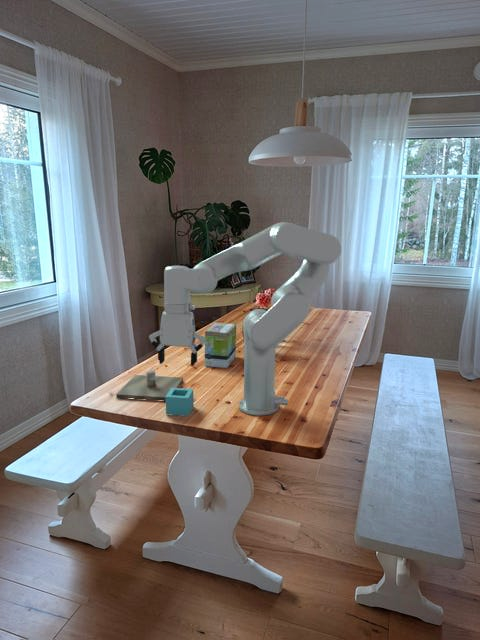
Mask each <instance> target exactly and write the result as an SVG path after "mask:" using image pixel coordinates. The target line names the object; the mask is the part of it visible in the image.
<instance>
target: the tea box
mask: <svg viewBox="0 0 480 640" xmlns="http://www.w3.org/2000/svg"><path fill="white" fill-rule="evenodd" d="M204 337H205V338H206V341H205V343H204V366H205V367H213V368H221V369H224V368H225V369H227V368H228V367H229V366H230V365H231V363H232V362H233V361H234V359H235V358H236V353H237V324H235V323H224V322H223V323H221V322H214V323H212V325H210V326H209V327H208V328H207V329H206V330H204Z"/></svg>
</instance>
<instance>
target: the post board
mask: <svg viewBox="0 0 480 640" xmlns="http://www.w3.org/2000/svg"><path fill="white" fill-rule="evenodd" d="M145 372H146V374H145V375H141V374H135V375H133V376H132V377H131V378H130V380H128V381H127V382H126V384H125V385H124V386H122V387H121V389H120V390H119V391H118V392H117V393H116V394H115V396H116V399H117V398H134V399H146V400H145V401H149V400H164V401H163V402H165V401H166V395H167V394H168V392H169V391H170V390H171V388H180V387H181V386H182V384H183V382H184V377H180V376H179V377H178V376H177V377H176V376H163V375H160V376H159V375H156V371H155V370H147V371H145ZM181 383H182V384H181ZM179 386H180V387H179Z"/></svg>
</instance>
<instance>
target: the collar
mask: <svg viewBox="0 0 480 640" xmlns="http://www.w3.org/2000/svg"><path fill="white" fill-rule="evenodd" d="M194 405H195V404H194V388H181V387H179V388H171V390H170V391H169V392H168V394H167V395H166V402H165V415H166V414H172V415H171V416H174V415H184V416H183V417H189V416H190V415H191V413H190V412H192V411H193V409H194ZM189 414H190V415H189Z"/></svg>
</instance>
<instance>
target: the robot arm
mask: <svg viewBox="0 0 480 640" xmlns="http://www.w3.org/2000/svg"><path fill="white" fill-rule="evenodd" d="M282 254H285V255H287V256H290V257H294V258H297V259H301V260H303V261H302V264H301V265H300V267H299V268H298V270H297V271H296V272H295V273H294V274H293V275H291V277H290V278H289V279H288V280H286V281H285V282H284V283H283V284H282V285H281V286H280V287H279V288H278V289H277V290H276V291H274V292H273V294H272V295H271V300H270V302H271V303H270V304H271V307H270V308H269V309H268V310H266V309H262V308H257V309H253V310H252V311H249V312H250V313H249V312H248V313H249V314H248V313H247V315H246V317H245V319H244V322H243V340H244V346H243V347H244V356H243V357H244V358H243V359H244V361H243V362H244V365H243V367H244V369H243V374H244V375H243V398H242V399H240V400H239V402H238V408H239V410H240V411H241V412H243V413H245V414H247V415H251V416H267V415H272V414H275V412H277V411H278V410H279V405H281V406H288V405H289V399H288V398H285V396H282V395H281V396H278V395H276V390H275V371H276V369H275V368H276V347H277V346H278V345H280V344H281V343H282V342H283V341H284V340H285V339H286V338H287V337H289V335H291V334H292V333H293V332H294V331H295V330H296V329H298V327H299V326H300V325H301V324H302V323H303V322H304V321H305V319H306V318H307V317H308V315H309V312H310V309H311V308H310V307H311V306H310V299H311V298H312V297H313V296H314V295H315V294H316V293H317V291H319V290H320V289H321V287H323V285H324V284H325V282H326V280H327V278H328V276H329V273H330V265H331V264H334V263H335V262H336V261H338V259H339V258H340V257H341V254H342V245H341V241H340V240H339V239H338V238H337V237H336V236H335V235H333V234H329V233H326V232H323V231H322V232H321V231H318V230H315V229H311V228H308V227H304V226H301V225H299V224H295V223H292V222H286V221H281V222H277V223H274V224H272V225H270V226H269V227H267V228H265V229H263V230H262V231H260V232H258V233H256V234H254V235H252V236H250V237H248V238H246V239H244V240H242V241H241V242H238V243H236V244H235V245H232V246H231V247H229V248H227V249H225V250H222V251H221V252H219V253H217V254H214V255H212V256H211V257H209V258H207V259H205V260H203V261H201V262H199V263H198V264H196V265H194V267H193V268H189V267H188V266H185V265H170V266H169V265H168V266H166V267H165V269H164V270H163V271H164V273H163V275H164V276H163V277H164V278H163V282H164V286H163V288H164V289H163V291H164V295H163V296H164V304H163V305H164V310H163V311H162V314H161V319H160V324H159V325H160V326H159V327H160V328H159V330H158V331H156V332H153V333H151V334H149V335H148V338H149V340H150V342H151V345H152V346H153V347H154V348H155V349H156V351H157V360H158V362H159V365H160V364H161V365H162V364H163V363H164V362H165V357H166V356H165V348H164V347H165V346H166V347H167V346H168V347H179V348H180V347H181V348H189V349H190V351H191V353H190V366H191V367H194V366H195V365H196V363H198V351H200V350H201V349H202V348H204V347H203V346H205V341H206V338H205V336H203V335H201V334H200V333H198V332H196V324H195V322H196V321H195V315H194V310H196V305H193V304H192V302H191V292H192V293H196V294H198V293H199V294H208V293H211V292H213V291H214V290H215V289H216V287H217V286H218V281H220V280H222V279H224V278H226V277H228V276H230V275H233V274H235V273H238V272H247V271H250V270H254V269H256V268H257V267H260V266H262V265H264V264H265V263H266V262H269V261H270V260H272V259H274V258H277V257H279V256H280V255H282ZM157 337H159V341H158V340H157V339H156V338H157ZM196 340H198V341H199V344H196Z"/></svg>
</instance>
